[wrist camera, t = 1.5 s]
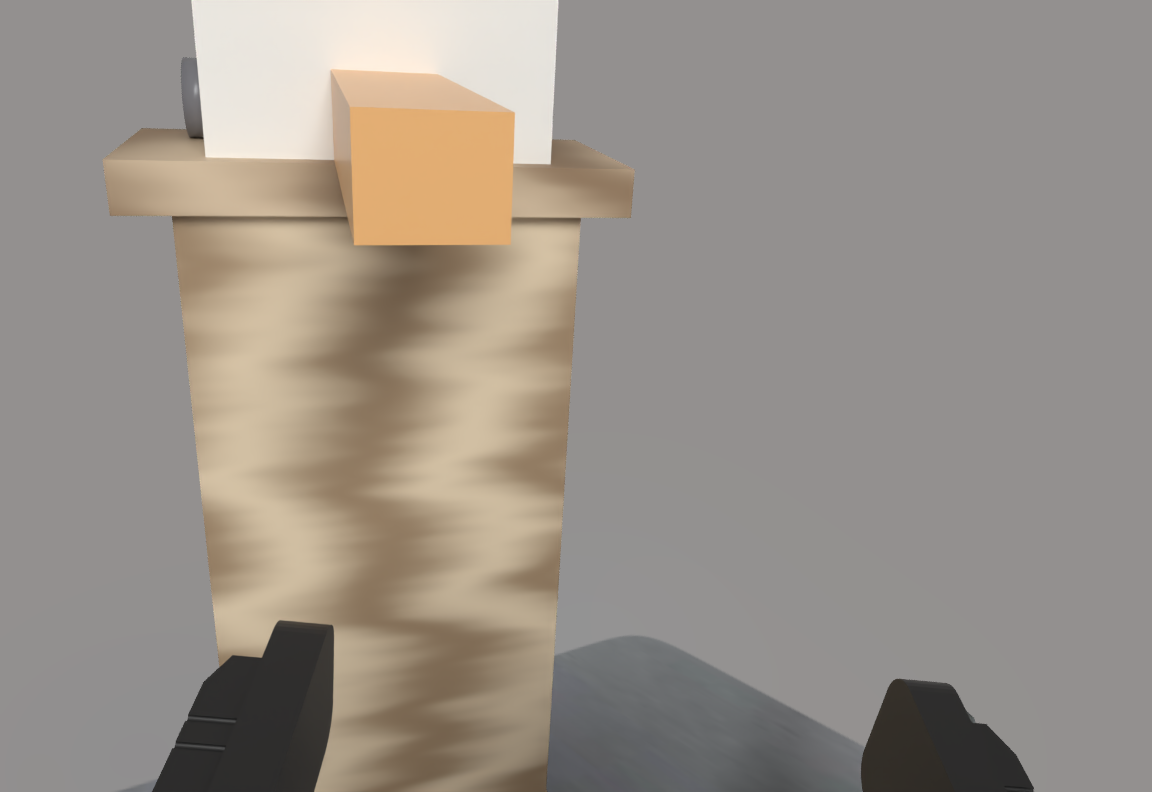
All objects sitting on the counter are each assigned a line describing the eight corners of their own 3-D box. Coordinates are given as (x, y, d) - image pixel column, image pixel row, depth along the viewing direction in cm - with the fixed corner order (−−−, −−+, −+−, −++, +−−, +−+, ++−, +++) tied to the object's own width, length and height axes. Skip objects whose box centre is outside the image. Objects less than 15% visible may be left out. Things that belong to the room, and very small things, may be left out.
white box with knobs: (535, 141, 34) (544, -72, 31) (712, 243, 19) (756, -139, 17) (194, 132, 31) (172, -106, 28) (102, 246, 16) (39, -223, 14)
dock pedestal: (537, 789, 47) (574, 140, 35) (574, 909, 41) (634, 169, 29) (223, 842, 43) (141, 128, 31) (210, 984, 37) (102, 159, 25)
